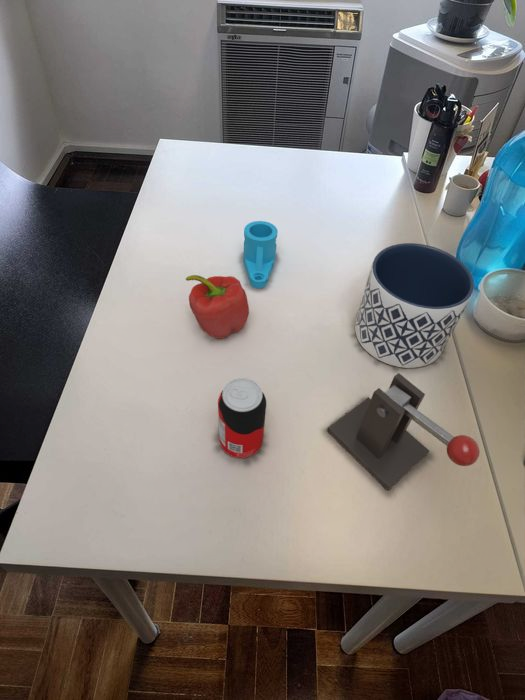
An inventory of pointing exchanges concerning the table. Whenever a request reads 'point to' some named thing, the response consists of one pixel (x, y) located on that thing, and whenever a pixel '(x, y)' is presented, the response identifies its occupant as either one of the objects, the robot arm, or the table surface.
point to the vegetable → (219, 304)
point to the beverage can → (241, 417)
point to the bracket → (259, 251)
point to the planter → (412, 304)
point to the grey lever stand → (382, 434)
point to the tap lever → (438, 431)
